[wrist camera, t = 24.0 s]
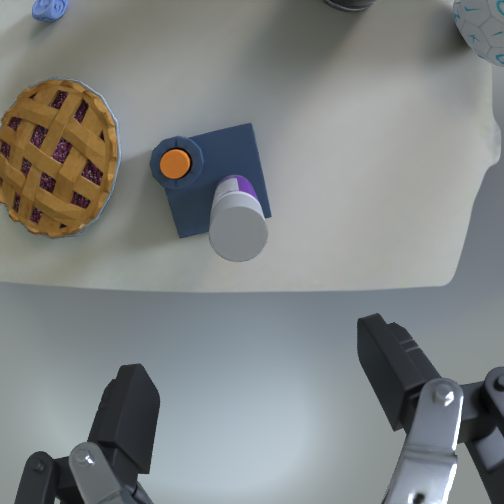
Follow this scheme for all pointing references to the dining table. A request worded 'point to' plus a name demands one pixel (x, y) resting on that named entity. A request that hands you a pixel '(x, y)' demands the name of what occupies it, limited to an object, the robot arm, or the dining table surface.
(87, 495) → the robot arm
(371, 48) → the dining table surface
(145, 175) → the dining table surface
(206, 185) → the scale
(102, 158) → the pie
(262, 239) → the container
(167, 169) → the button
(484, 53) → the puzzle ball
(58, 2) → the decorative dice
